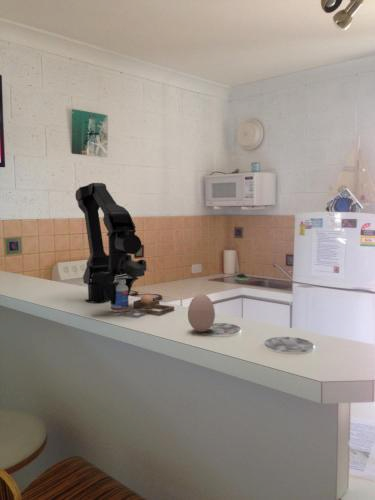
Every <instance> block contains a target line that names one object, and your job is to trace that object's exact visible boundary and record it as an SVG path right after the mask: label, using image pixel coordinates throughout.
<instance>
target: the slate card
mask: <svg viewBox="0 0 375 500" xmlns="http://www.w3.org/2000/svg"><path fill="white" fill-rule="evenodd" d="M146 315H148V314H147V313H143V312H139V311H135V310H127V311H124V312H119V313H118V316H122V317H129V318H139V317H140V318H141V317H143V316H146Z"/></svg>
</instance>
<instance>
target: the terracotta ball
mask: <svg viewBox="0 0 375 500" xmlns="http://www.w3.org/2000/svg"><path fill="white" fill-rule="evenodd" d="M153 299H154V298H152V296H151V295H148V294H144V295H142V296H141V298H140V299H139V300H140V302H144V303H150V302H153Z"/></svg>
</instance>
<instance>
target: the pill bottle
mask: <svg viewBox="0 0 375 500" xmlns="http://www.w3.org/2000/svg"><path fill="white" fill-rule="evenodd" d="M116 282H119V284H118V285H117V287H116V301H115V304H112V303H111V302H110V311H111V312H114V313H123V312H126V311H129V307H130V306H129V296H128V287H127V286H126V285H125V284H126V279H125V278H120V277H119V278H116Z"/></svg>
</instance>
